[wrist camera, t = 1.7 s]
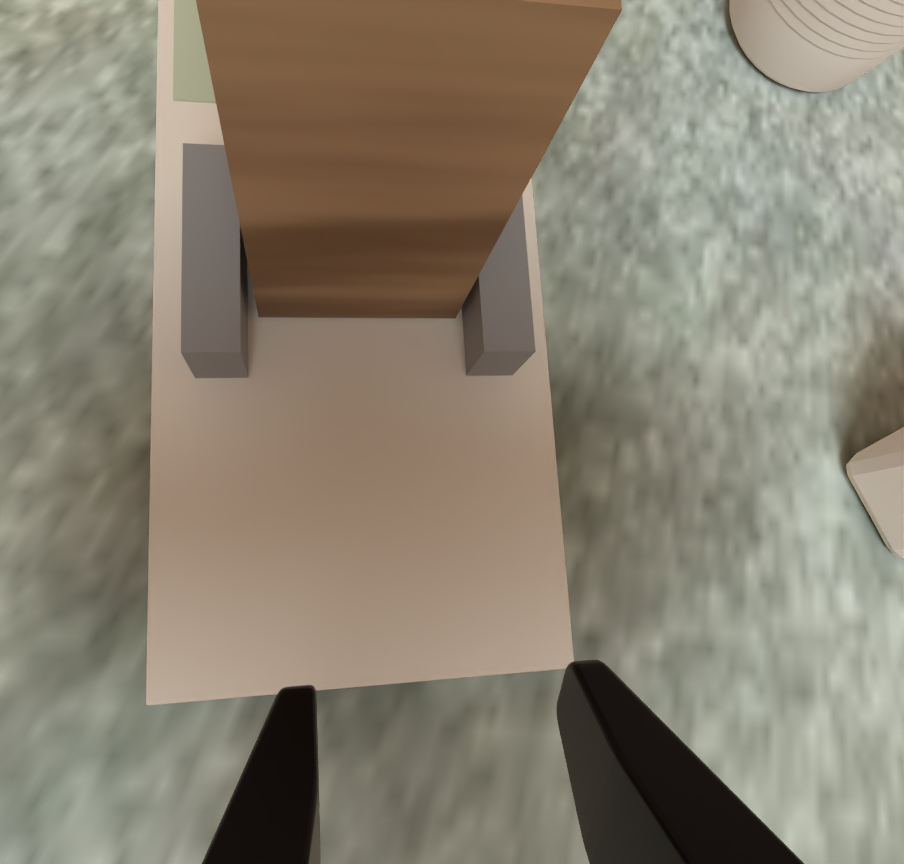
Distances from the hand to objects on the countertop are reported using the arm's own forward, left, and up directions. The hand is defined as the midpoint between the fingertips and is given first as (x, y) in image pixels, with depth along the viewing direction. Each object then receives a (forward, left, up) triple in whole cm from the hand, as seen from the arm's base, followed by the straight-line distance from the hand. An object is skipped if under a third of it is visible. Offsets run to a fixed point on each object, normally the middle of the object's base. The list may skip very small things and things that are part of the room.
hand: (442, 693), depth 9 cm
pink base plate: (+8, -7, -14) cm, 17 cm away
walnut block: (+9, -7, -13) cm, 17 cm away
